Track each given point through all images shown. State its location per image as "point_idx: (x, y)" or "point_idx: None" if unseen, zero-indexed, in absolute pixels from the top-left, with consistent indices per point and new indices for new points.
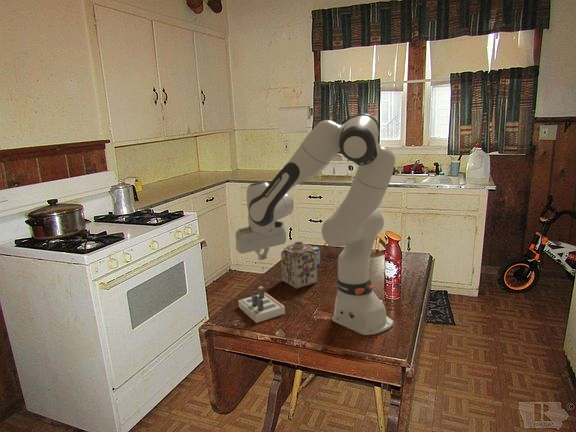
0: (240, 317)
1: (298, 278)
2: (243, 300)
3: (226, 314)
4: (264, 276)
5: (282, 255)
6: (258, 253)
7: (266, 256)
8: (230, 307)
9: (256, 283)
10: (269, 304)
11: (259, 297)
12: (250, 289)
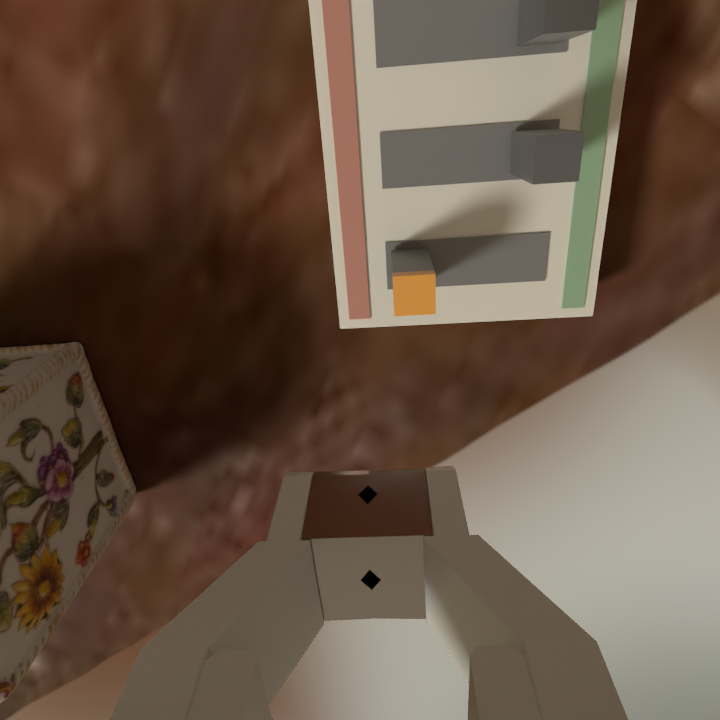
0: (656, 128)
1: (9, 380)
2: (565, 287)
3: (707, 239)
4: None
5: (12, 660)
6: (547, 607)
7: (287, 504)
8: (619, 326)
9: None
10: (414, 83)
11: None
12: None
